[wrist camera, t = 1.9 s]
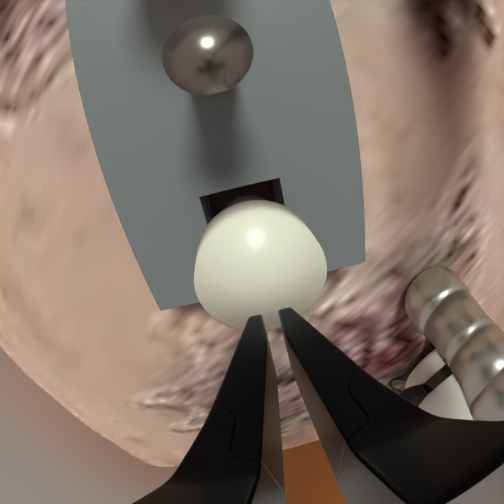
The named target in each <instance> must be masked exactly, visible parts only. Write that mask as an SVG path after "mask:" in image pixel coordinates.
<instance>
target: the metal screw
mask: <svg viewBox="0 0 504 504" xmlns="http://www.w3.org/2000/svg"><path fill="white" fill-rule="evenodd" d="M253 55H254V50H253V44H252V41H251V38H250V36H249V34H248V33H247V32H246V30H245V29H244V28H243V27H242V26H241V25H239V24H238V23H237V22H235V21H233V20H231V19H229V18H226V17H223V16H217V15H204V16H199V17H195V18H192V19H190V20H187V21H186V22H184V23H182V24H181V25H179V26H178V27H177V28H176V29H175V30H174V31H173V32H172V33H171V34H170V36H169V37H168V39H167V40H166V43H165V45H164V48H163V53H162V62H163V67H164V70H165V72H166V74H167V76H168V77H169V79H170V80H171V81H172V82H173V83H174V84H175V85H176V86H178V87H179V88H181V89H183V90H184V91H187V92H189V93H192V94H195V95H203V96H209V95H216V94H220V93H223V92H226V91H228V90H230V89H231V88H233V87H234V86H236V85H237V84H238V83H239V82H240V81H241V80H242V79H243V78H244V77H245V75H246V74H247V72H248V71H249V69H250V67H251V64H252V61H253Z"/></svg>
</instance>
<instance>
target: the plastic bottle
mask: <svg viewBox="0 0 504 504" xmlns="http://www.w3.org/2000/svg"><path fill="white" fill-rule="evenodd" d="M405 311H406V313H407V315H408V317H409V320H410V322H411V323H412V324H413V325H414V326H415V328H416V329H417V330H418V331H420V332H421V333H422V334H423V335H424V336H426V337H427V338H428V339H429V341H430V342H431V343H432V344H433V345H434V346H435V348H436V349H437V350H438V351H439V352H440V354H441V355H442V356H443V357H444V359H445V360H446V362H447V364H448V366H449V367H451V371H452V373H453V375H454V376H455V378H456V380H457V382H458V384H459V386H460V389H461V391H462V394H463V396H464V399H465V401H466V404H467V407H468V408H469V412H470V414H471V416H472V419H473V420H482V421H503V420H504V332H503V331H502V330H501V329H500V328H499V327H498V326H497V325H496V324H494V323H493V321H492V320H491V319H490V318H489V317H488V316H487V315H486V313H485V312H484V311H483V309H482V308H481V307H480V305H479V304H478V303H477V301H476V300H475V299H474V297H473V296H472V295H471V294H470V292H469V290H468V289H467V287H466V285H465V284H464V282H463V281H462V279H461V278H460V277H459V276H458V274H456V273H455V272H453V271H452V270H450V269H448V268H447V267H443V266H436V267H430V268H428V269H426V270H424V271H423V272H421V273H420V274H419V275H418V276H417V277H416V278H415V279H414V280H413V282H412V283H411V284H410V286H409V288H408V290H407V292H406V296H405Z"/></svg>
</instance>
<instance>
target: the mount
mask: <svg viewBox="0 0 504 504" xmlns="http://www.w3.org/2000/svg"><path fill="white" fill-rule="evenodd" d="M66 11H67V21H68V29H69V36H70V43H71V49H72V55H73V61H74V66H75V71H76V76H77V81H78V85H79V90H80V94H81V99H82V103H83V107H84V111H85V115H86V119H87V122H88V126H89V130H90V133H91V137H92V140H93V144H94V147H95V150H96V153H97V157H98V160H99V163H100V166H101V169H102V172H103V175H104V178H105V181H106V184H107V187H108V189H109V192H110V195H111V198H112V201H113V203H114V206H115V209H116V211H117V214H118V216H119V219H120V222H121V224H122V227H123V229H124V232H125V234H126V236H127V239H128V241H129V244H130V246H131V248H132V251H133V253H134V255H135V258H136V260H137V262H138V264H139V267H140V269H141V271H142V273H143V275H144V277H145V280H146V282H147V284H148V286H149V288H150V290H151V292H152V294H153V296H154V298H155V300H156V302H157V304H158V306H159V308H160V310H165V309H170V308H175V307H180V306H185V305H190V304H194V303H199V302H200V301H199V299H198V297H197V295H196V291H195V287H194V271H195V263H196V255H197V248H198V243H199V240H200V237H201V235H202V233H203V231H204V229H205V227H206V226H207V225H208V223H209V222H210V221H211V220H212V219H213V218H214V216H213V213H212V209H211V206H210V202H209V198H208V195H209V194H213V193H217V192H221V191H225V190H229V189H233V188H237V187H241V186H245V185H250V184H254V183H258V182H263V181H267V180H271V182H272V187H273V192H274V197H275V202H276V203H279V204H282V205H284V206H286V207H288V208H290V209H291V210H293V211H294V212H295V213H297V214H298V215H299V216H300V217H301V218H302V220H303V221H304V222H305V224H306V225H307V227H308V228H309V229H310V231H311V232H312V234H313V235H314V237H315V238H316V240H317V241H318V243H319V244H320V246H321V248H322V250H323V252H324V255H325V258H326V263H327V272H329V271H333V270H337V269H340V268H344V267H348V266H351V265H355V264H359V263H362V262H365V223H364V201H363V185H362V173H361V162H360V152H359V143H358V135H357V127H356V120H355V113H354V106H353V100H352V94H351V89H350V83H349V78H348V73H347V68H346V63H345V58H344V54H343V50H342V45H341V41H340V37H339V33H338V29H337V25H336V22H335V18H334V14H333V11H332V7H331V4H330V1H329V0H66ZM204 15H217V16H223V17H226V18H229V19H231V20H233V21H235V22H237V23H238V24H239V25H241V26H242V27H243V28H244V29H245V30H246V32H247V33H248V34H249V36H250V38H251V41H252V44H253V50H254V55H253V61H252V64H251V67H250V69H249V71H248V72H247V74H246V75H245V77H244V78H243V79H242V80H241V81H240V82H239V83H238V84H237V85H236V86H234V87H233V88H231V89H230V90H228V91H226V92H223V93H220V94H216V95H209V96H203V95H195V94H192V93H189V92H187V91H184V90H183V89H181V88H179V87H178V86H176V85H175V84H174V83H173V82H172V81H171V80H170V79H169V77H168V76H167V74H166V72H165V70H164V67H163V62H162V53H163V48H164V45H165V43H166V40H167V39H168V37H169V36H170V34H171V33H172V32H173V31H174V30H175V29H176V28H177V27H178V26H179V25H181V24H182V23H184V22H186V21H187V20H190V19H192V18H195V17H199V16H204Z"/></svg>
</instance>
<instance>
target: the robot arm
mask: <svg viewBox="0 0 504 504" xmlns="http://www.w3.org/2000/svg"><path fill="white" fill-rule="evenodd" d="M278 313H279V318H280V323H281V328H282V332H283V336H284V340H285V344H286V348H287V352H288V356H289V360H290V364H291V368H292V371H293V375H294V377H295V380H296V382H297V385H298V387H299V390H300V392H301V395H302V397H303V400H304V402H305V405H306V407H307V410H308V412H309V414H310V417H311V419H312V422H313V424H314V427H315V429H316V432H317V434H318V436H319V439H320V441H321V444H322V446H323V448H324V451H325V453H326V455H327V458H328V461H329V463H330V465H331V468H332V470H333V473H334V475H335V477H336V480H337V482H338V485H339V487H340V490H341V492H342V495H343V497H344V499H345V502H346V504H504V420H503V421H482V420H466V419H453V418H444V417H439V416H436V415H433V414H431V413H428V412H426V411H425V410H423V409H421V408H420V407H418V406H416V405H415V404H413V403H411V402H410V401H408V400H406V399H405V398H403V397H402V396H400V395H398V394H397V393H395V392H393V391H392V390H390V389H389V388H387V387H386V386H384V385H383V384H381V383H380V382H378V381H377V380H376V379H375V378H373V377H372V376H371V375H370V374H368V373H367V372H366V371H365V370H363V369H362V368H361V367H360V366H359V365H357V364H356V363H355V362H354V361H353V360H352V359H350V358H349V357H348V356H347V355H346V354H345V353H343V352H342V351H341V350H340V349H339V348H337V347H336V346H335V345H334V344H333V343H332V342H331V341H329V340H328V339H327V338H326V337H325V336H324V335H322V334H321V333H320V332H319V331H318V330H317V329H315V328H314V327H313V326H312V325H311V324H310V323H309V322H307V321H306V320H305V319H304V318H303V317H302V316H300V315H299V314H298V313H297V312H296V311H295V310H294V309H292V308H291V307H287V308H283V309H280V310H279V311H278ZM282 454H283V453H282V439H281V426H280V413H279V400H278V387H277V377H276V372H275V367H274V363H273V358H272V354H271V349H270V345H269V341H268V336H267V332H266V328H265V324H264V320H263V317H262V315H261V314H258V315H254V316H250V317H249V318H248V320H247V323H246V325H245V328H244V330H243V333H242V335H241V338H240V340H239V343H238V345H237V348H236V350H235V353H234V355H233V358H232V360H231V363H230V365H229V367H228V370H227V372H226V375H225V377H224V380H223V382H222V384H221V387H220V389H219V392H218V394H217V396H216V399H215V401H214V403H213V406H212V408H211V410H210V413H209V415H208V417H207V419H206V421H205V423H204V425H203V427H202V429H201V430H200V432H199V434H198V436H197V437H196V439H195V441H194V442H193V444H192V446H191V447H190V449H189V451H188V452H187V454H186V455H185V457H184V459H183V460H182V462H181V463H180V465H179V467H178V468H177V470H176V471H175V473H174V474H173V475H172V476H171V477H170V479H169V480H168V481H166V482H165V483H164V484H163V485H162V486H160V487H159V488H157V489H156V490H154V491H152V492H151V493H149V494H147V495H146V496H144V497H143V498H141V499H139V500H137V501H136V502H134V503H132V504H286V499H285V483H284V468H283V455H282Z"/></svg>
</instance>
